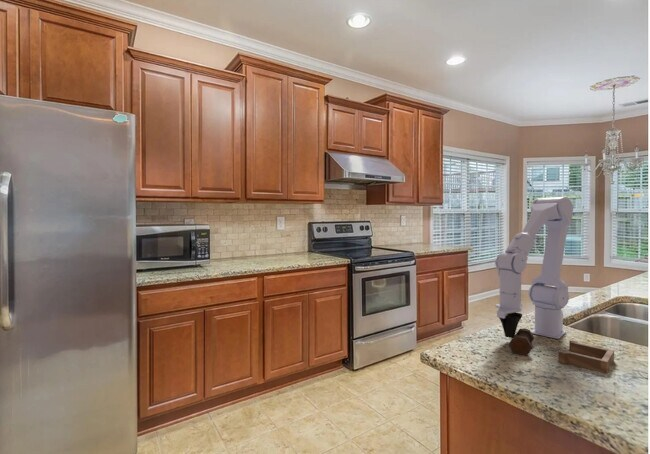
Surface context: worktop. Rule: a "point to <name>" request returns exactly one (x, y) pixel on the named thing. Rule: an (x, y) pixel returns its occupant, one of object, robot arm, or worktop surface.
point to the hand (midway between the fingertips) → (509, 336)
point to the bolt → (522, 342)
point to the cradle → (587, 356)
